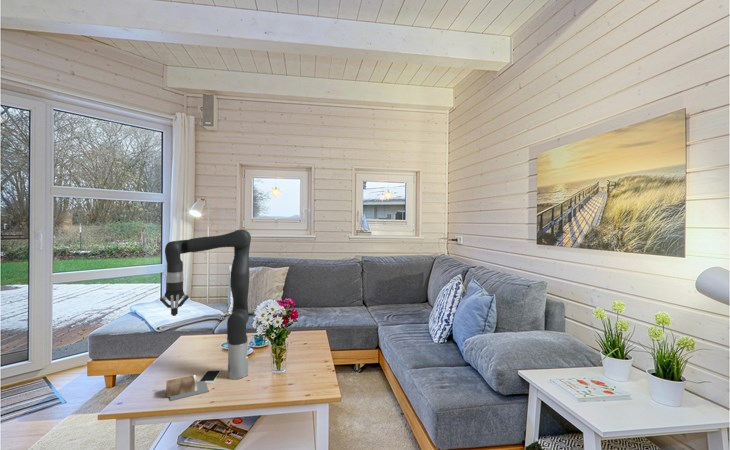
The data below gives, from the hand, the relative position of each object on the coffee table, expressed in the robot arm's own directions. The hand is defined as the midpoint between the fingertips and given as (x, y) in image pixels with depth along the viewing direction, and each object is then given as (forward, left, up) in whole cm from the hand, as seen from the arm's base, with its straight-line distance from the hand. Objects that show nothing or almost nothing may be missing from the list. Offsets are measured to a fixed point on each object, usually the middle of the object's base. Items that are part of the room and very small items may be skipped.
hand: (174, 315), depth 167 cm
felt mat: (-5, +16, -32) cm, 36 cm away
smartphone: (-16, +6, -33) cm, 37 cm away
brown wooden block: (+3, +16, -29) cm, 33 cm away
